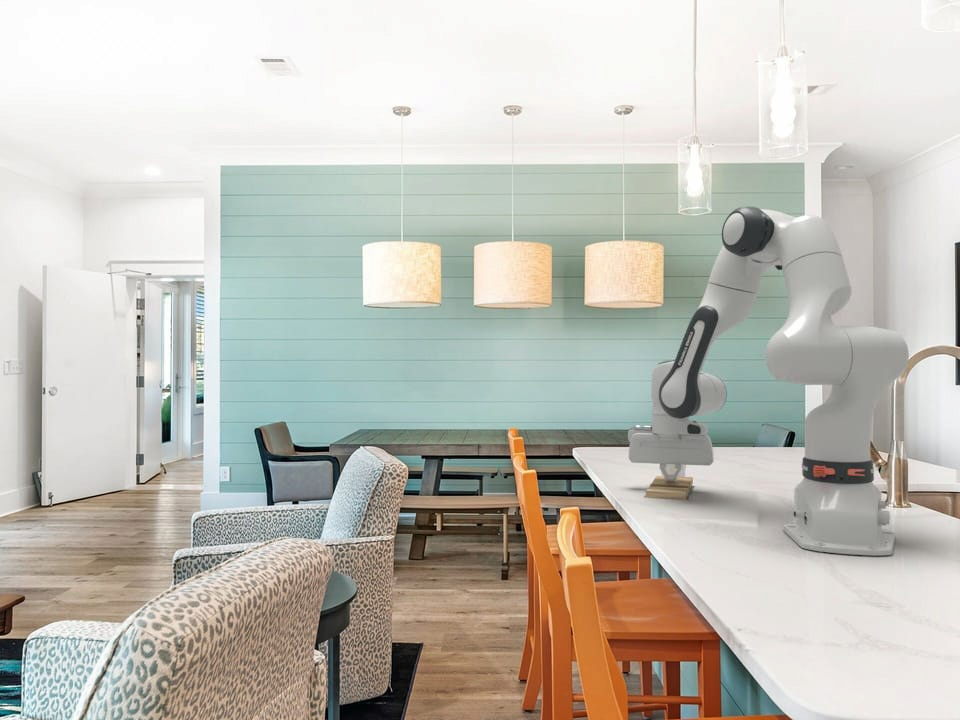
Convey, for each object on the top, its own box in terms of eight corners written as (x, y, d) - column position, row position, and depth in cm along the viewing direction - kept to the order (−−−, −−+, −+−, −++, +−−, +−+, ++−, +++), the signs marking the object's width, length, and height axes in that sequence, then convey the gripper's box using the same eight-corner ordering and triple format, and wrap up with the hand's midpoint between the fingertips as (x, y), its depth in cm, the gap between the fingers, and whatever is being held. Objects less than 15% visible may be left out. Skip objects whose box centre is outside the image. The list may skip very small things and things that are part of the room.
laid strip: (685, 499, 167) (685, 491, 167) (645, 497, 170) (645, 489, 170) (688, 494, 173) (688, 487, 173) (650, 492, 177) (649, 485, 177)
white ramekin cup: (658, 482, 197) (658, 456, 197) (684, 483, 196) (684, 457, 196) (661, 486, 190) (661, 460, 190) (688, 487, 189) (688, 460, 189)
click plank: (688, 493, 174) (688, 486, 174) (650, 491, 177) (650, 484, 177) (692, 483, 185) (692, 476, 185) (656, 481, 188) (656, 474, 188)
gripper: (625, 426, 179) (626, 482, 179) (712, 428, 172) (713, 486, 172) (629, 424, 185) (630, 478, 185) (713, 425, 178) (714, 482, 178)
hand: (670, 482), depth 179 cm, fingers closed
